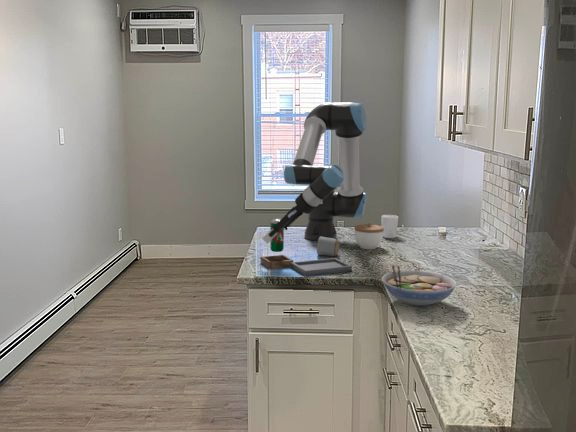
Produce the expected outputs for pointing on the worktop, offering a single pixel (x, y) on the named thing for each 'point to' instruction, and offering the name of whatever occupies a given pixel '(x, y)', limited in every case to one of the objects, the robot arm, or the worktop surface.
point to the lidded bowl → (368, 235)
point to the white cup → (389, 225)
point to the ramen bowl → (418, 286)
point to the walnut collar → (276, 261)
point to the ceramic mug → (327, 246)
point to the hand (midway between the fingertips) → (268, 239)
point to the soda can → (277, 238)
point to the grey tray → (320, 267)
